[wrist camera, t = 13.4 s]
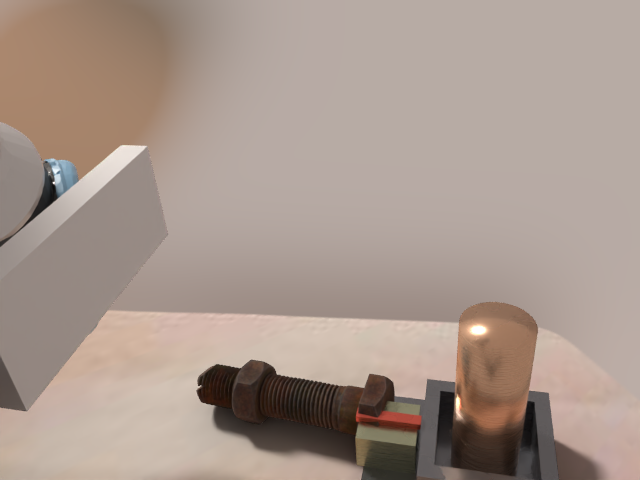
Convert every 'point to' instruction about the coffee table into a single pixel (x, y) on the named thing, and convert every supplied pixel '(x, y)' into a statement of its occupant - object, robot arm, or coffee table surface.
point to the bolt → (292, 396)
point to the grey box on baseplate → (445, 440)
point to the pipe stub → (492, 387)
